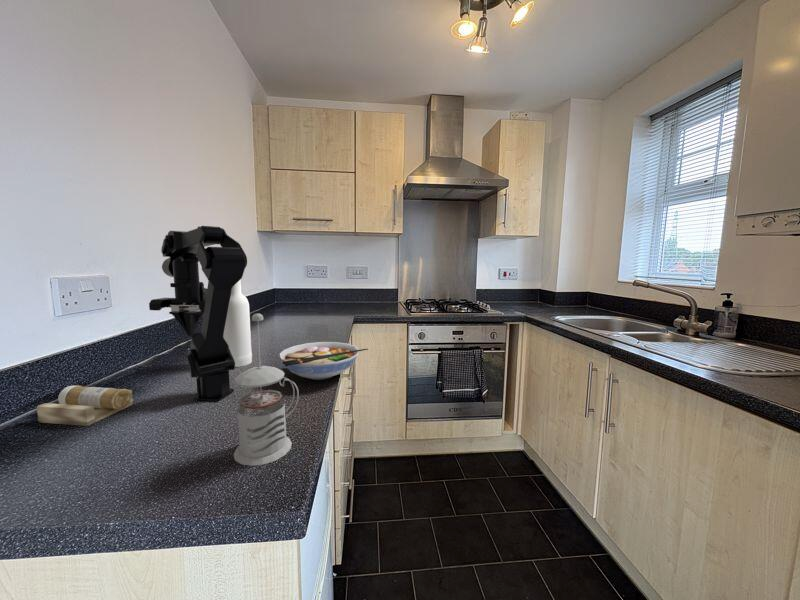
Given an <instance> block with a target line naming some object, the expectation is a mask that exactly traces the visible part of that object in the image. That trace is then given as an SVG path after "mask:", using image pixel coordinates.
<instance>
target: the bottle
mask: <svg viewBox="0 0 800 600" xmlns="http://www.w3.org/2000/svg"><path fill="white" fill-rule="evenodd" d="M250 317H251V313H250V303H249V300H248V298H247V297H246V296H245V295H244V294H243V293H242V278H241V279H240V280H239V281H238V282H237V283H236V284H235V285H234V286H233V287H232V291H231V297H230V302H229V307H228V313H227V318H226V324H225V329H224V335H223V338H224V339H225V341H226V342H227V344H228V345H229V349H230V352H231V354H232V356H233V359H234V361H235V368H240V367H241V368H242V367H246V366H249V365H250V364H251V363H252V362H253V352H252V335H251V334H252V333H251V318H250Z"/></svg>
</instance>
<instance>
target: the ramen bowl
mask: <svg viewBox="0 0 800 600" xmlns="http://www.w3.org/2000/svg"><path fill="white" fill-rule="evenodd" d="M367 350H369V348H362V349H359V348H358V347H357V346H356V345H355V344H354V345H353V344H350V343H346V342H338V341H317V342H307V343H302V344H296V345H293V346H290V347H287V348H285V349H283V350H282V351H281V352H280V353H278V355H279V358H280V360H281V362H282V365H284V367H285V368H286V369H287V370H288V371H289V372H290V373H292V374H295V375H297V376H299V377H300V378H306V379H310V380H315V381H324V380H327V379H330V378H332V377H334V376H335V377H336V376H337V375H340V374H342V373H343V372H345V371H346V370H348V369H349V368H350V367H351V366H352V365H353V364H354V362H355V361H356V360H357V357H358V355H359V352H361V351H363V352H364V351H367Z"/></svg>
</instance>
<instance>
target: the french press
mask: <svg viewBox="0 0 800 600" xmlns="http://www.w3.org/2000/svg"><path fill="white" fill-rule="evenodd" d="M263 320H264V316H263V314H261V313H254V314H253V315H252V316H251V321H252V322H257V343H258V360H259V361H258V364H259V366H254V367H251V368H249V369H246V370H245V371H243V372H241V373H240V374H238V375H237V376H236V377H235V378H234V381H235V384H236V385H237V386H239V387H242V388H250V389H251V388H260V390H256V391H253V392H250V393H247V394H245V395H244V396H241V398H240V399H239V401H238V403H239V406H238V408H237V423H238V424H237V425H238V440H239V442H238V443H239V445H238V446H237V448H236V449H235V451H234V453H233V459H234V461H235V462H237V463H238V464H240V465H244V466H251V467H253V466H261V465H266V464H269V463H273V462H275V461H277V460H279V459H281V458H282V457H284V456H286V455H287V454H288V452H290V450H291V449H292V444H293V442H292V441H291V439H290V437H288V436H287V421H286V419H287V418H288V417H289V416H290V415H291V414H292V413H293V412H294V411H295V409H296V408H297V405H298V402H299V397H300V395H299V394H300V393H299V387H298V386H297V384H296V383H295V381H293V380H291V379H289V378H288V377H286V376H285V372H284V371H283V370H282V369H279V368H277V367H275V366H269V365H268V366H267V365H261V364H262V363H261V346H260V345H261V344H260V322H261V321H263ZM282 380H283V381H282ZM281 381H282V382H281ZM286 381H288V382H289V383H290V385H291V387H292V390H293V391H292V393H293V394H292V400H291V402H290V405H288V407H287V408H286V405H285V401H284V400H283V401H282V398H283V394H282V392H281V391H277V390H275V389H273V390H272V389H268V390H266V389H264V390H263V389H262V388H263V387H267V386H272V385H274V384H277V383H279V385H280V387H285V382H286ZM295 389H296V390H295ZM295 391H296V392H295ZM295 393H296V395H295ZM295 396H296V402H295V406H294V407H292V410H291V411H290V412H288V413H287V415H286V412H287V411H288V410H290V408H291V406H292V405H293V403H294V398H295ZM250 409H251V410H250ZM249 410H250V411H249ZM260 410H261V411H262V410H265V411H269V412H271V413H269V412H259V411H260ZM248 411H249V412H248ZM247 412H248V413H247ZM256 412H258V413H256ZM246 413H247V414H246ZM253 413H255V414H253ZM245 414H246V415H245ZM267 424H268V425H267ZM250 430H251V431H250Z"/></svg>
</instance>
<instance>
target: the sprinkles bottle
mask: <svg viewBox="0 0 800 600" xmlns="http://www.w3.org/2000/svg"><path fill="white" fill-rule="evenodd" d="M129 390H130V389H126V388H113V387H99V386H98V387H97V386H90V387H89V386H83V385H69V386H66V387H64V388H63V389H62V390H61V391H60V392H59V394H58V396H57V397H58V398H57V401H58V404H65V405H79V406H94V408H102V409H115V410H120V409H122V410H124V409H126V408H125V407H126V406H127V405H128V404H129V402H130V399H131V393H130V391H129ZM123 408H124V409H123ZM120 411H121V410H120Z"/></svg>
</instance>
